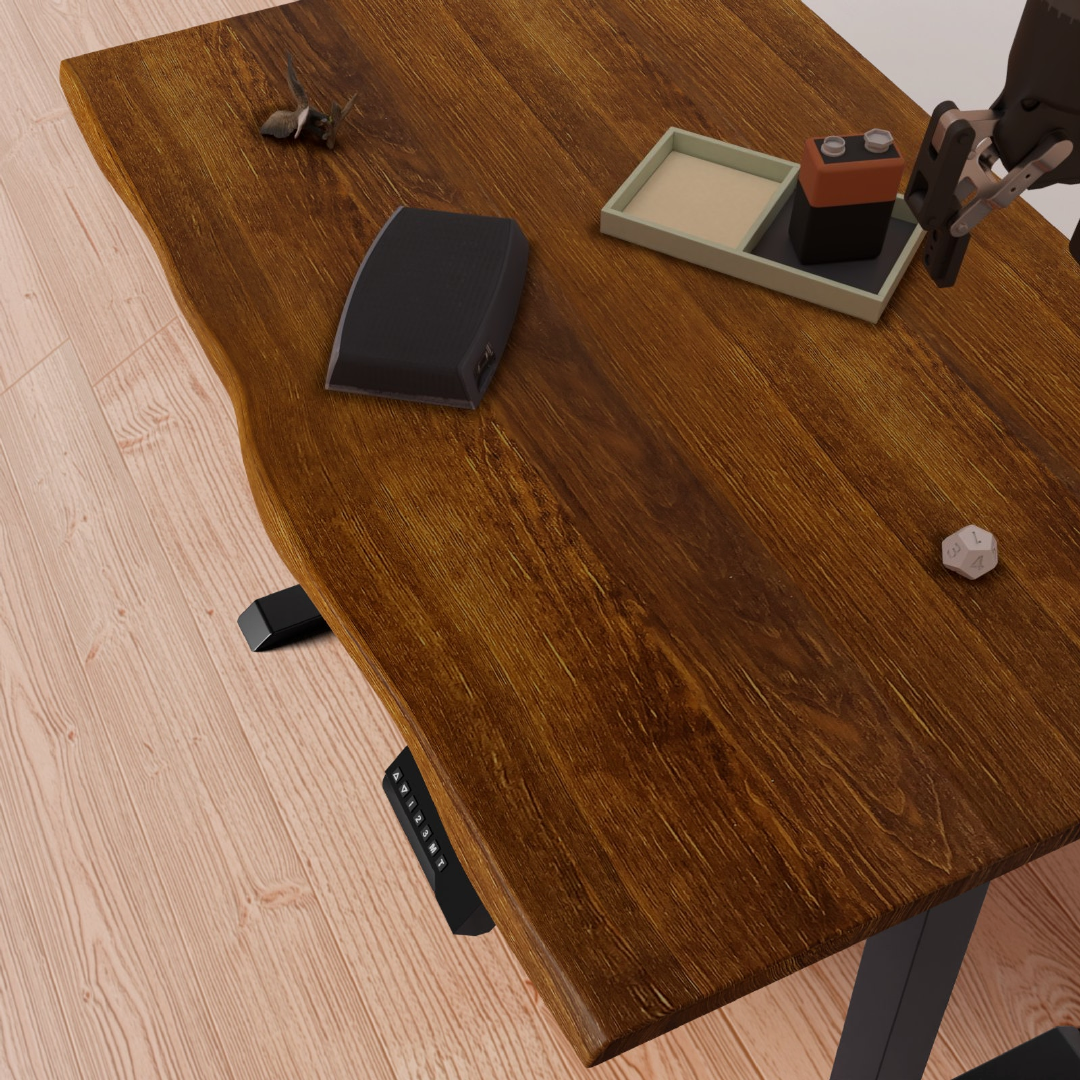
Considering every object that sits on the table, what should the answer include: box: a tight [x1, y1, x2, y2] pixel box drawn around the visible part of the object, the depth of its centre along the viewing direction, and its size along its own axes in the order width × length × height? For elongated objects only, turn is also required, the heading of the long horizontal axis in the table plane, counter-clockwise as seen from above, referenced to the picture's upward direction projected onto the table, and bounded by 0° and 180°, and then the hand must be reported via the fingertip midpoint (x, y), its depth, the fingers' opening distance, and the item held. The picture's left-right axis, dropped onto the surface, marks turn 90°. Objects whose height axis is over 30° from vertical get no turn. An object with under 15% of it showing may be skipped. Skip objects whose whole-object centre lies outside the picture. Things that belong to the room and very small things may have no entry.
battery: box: [788, 127, 906, 264], centre depth 91 cm, size 4×7×10 cm, turn 97°
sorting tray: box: [599, 126, 928, 325], centre depth 96 cm, size 24×14×3 cm, turn 61°
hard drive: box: [324, 205, 530, 411], centre depth 90 cm, size 13×19×4 cm
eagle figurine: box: [258, 50, 359, 150], centre depth 105 cm, size 8×7×9 cm
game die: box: [941, 523, 999, 581], centre depth 75 cm, size 4×4×3 cm
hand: (1010, 269), depth 65 cm, fingers open, 8 cm apart
